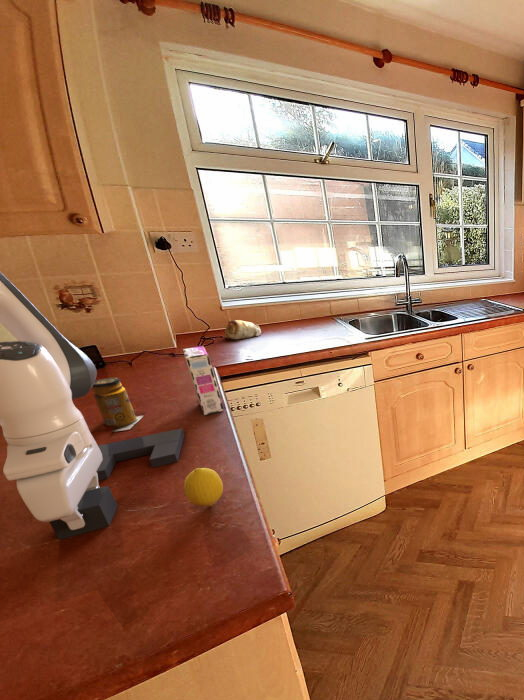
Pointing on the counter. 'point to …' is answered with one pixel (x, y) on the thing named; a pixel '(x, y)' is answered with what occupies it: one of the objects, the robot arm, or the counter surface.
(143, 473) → the counter surface
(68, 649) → the counter surface
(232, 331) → the pastry
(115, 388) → the condiment
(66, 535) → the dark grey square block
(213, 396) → the candy bar box
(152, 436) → the base pad
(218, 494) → the lemon
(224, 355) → the counter surface
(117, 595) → the counter surface
